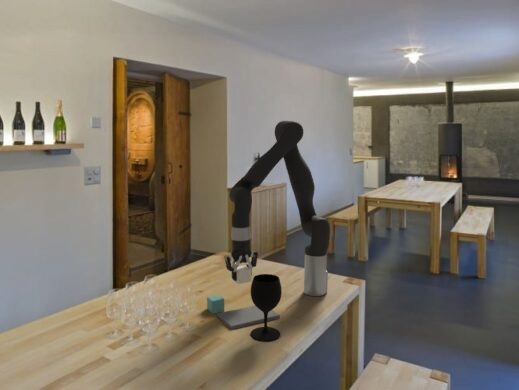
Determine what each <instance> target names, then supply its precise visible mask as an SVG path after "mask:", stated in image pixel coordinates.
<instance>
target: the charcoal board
mask: <svg viewBox="0 0 519 390" xmlns="http://www.w3.org/2000/svg"><path fill="white" fill-rule="evenodd" d="M216 317H217V318H218V319H219V320H221V322H223V323H224V324H225V325H226V326H227V327H228V328H229V329H231V330H235V329H239V328H243V327H248V326H251V325H257V324H260V323H264V313H263V312H262V311H261V310H260V309H258V308H257V307H256V306H255V305H252V306H248V307H247V306H245V307H243V308H237V309H231V310H228V311H222V312H218V313H216ZM280 318H281V315H280V314H279V313H278V312H276V311H275V310H274V309H273V310H271V311H269V312H268V316H267V322H269V321H273V320H277V319H280Z"/></svg>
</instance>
